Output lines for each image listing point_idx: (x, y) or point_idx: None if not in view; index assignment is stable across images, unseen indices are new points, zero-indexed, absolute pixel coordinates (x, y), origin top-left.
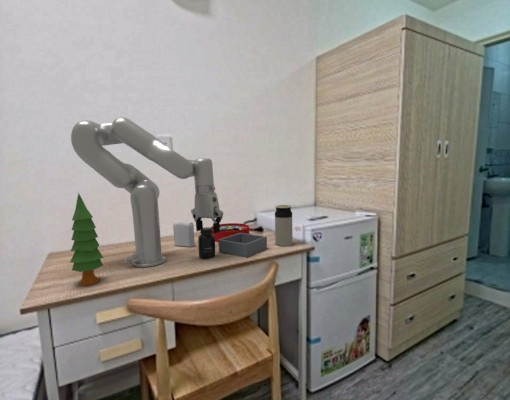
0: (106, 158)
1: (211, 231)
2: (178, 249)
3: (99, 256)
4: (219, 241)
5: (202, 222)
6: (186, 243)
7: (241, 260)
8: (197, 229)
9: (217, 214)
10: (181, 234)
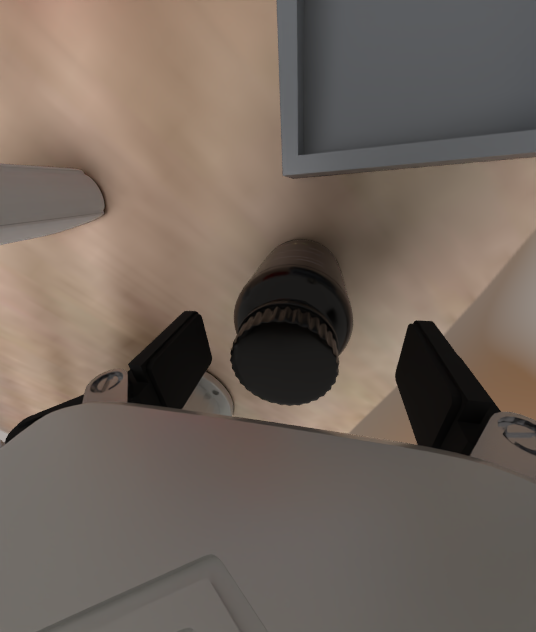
0: None
1: (336, 344)
2: (111, 267)
3: None
4: (295, 175)
5: (163, 351)
6: (79, 224)
7: (523, 219)
8: (205, 368)
9: (485, 496)
10: (6, 240)
